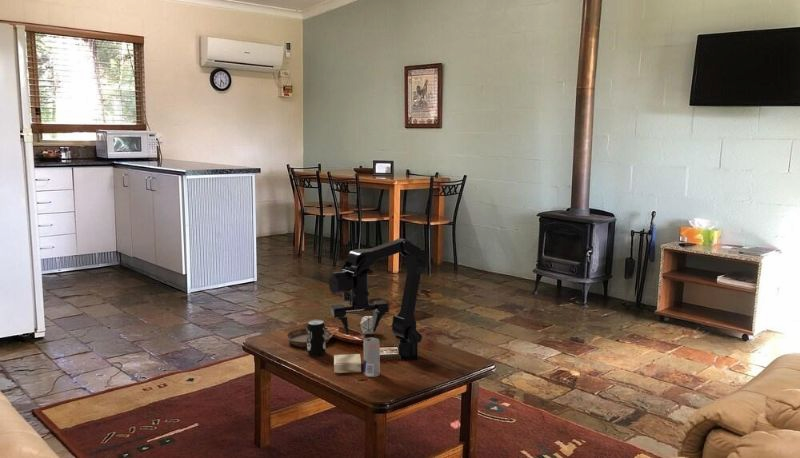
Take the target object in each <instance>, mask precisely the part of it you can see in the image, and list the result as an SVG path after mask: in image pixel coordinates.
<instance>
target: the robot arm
mask: <svg viewBox="0 0 800 458" xmlns="http://www.w3.org/2000/svg"><path fill="white" fill-rule="evenodd" d="M396 254H401V255H402V256H403V257H404V265H405V269H406V277H405V282H404V283H405V284H404V288H403V294H402V300H401V306H400V310H399V312H398V314H396V315H393V317H392V322H391V325H390V327H391V330H392V331H391V332H392V333H393V334H394V335H395V339H398V340H399V341H398V343H397V355H400V356H401V357H399V360H400V361H401V360H419V355H418V354H419V353H418V352H419V351H418V347H419V345H418V343H421V342H422V339H423V335H422V334H421V333H420V332H419V331H418V330H417V320H416V316H415V311H416V310H415V309H416V304H417V299H418V294H419V293H418V292H419V286H420V283H421V278H422V277H421V276H422V273H424V271H426V268H427V266H428V263H429V260H430V254H429V252H428V251H427V250H426V249H422V248H420V247H418V246H417V245H415V244H413V243H412V242H410V240H408V239H405V238H397V239H394V240H391V241H388V242H386V243H383V244H380V245H377V246H373V247H371V248H358V249H353V250H350V251H349V253H348V255H347V258H346V259H345V262H344V263H343V265H342V267H341V269H340V271H334V272H333V271H332V272H331V276H330V278H329V281H328V287H329V290H330V292H331V293H332V294H339V293H342V302H344V303H345V302H347V303H348V305H350V306H345V305H344V304H343V303H341V304H332V305H331V307H330V313H331V315H332V317H334V318H335V319H336V318H337V320H338V321H340V322H341V324H342V326H343V328H344V332H345V334H346V335H347V336H349V323H348V317H347V316H346V315H347V314H348V313H356V312H358V313H359V312H367V311H372V313H373V315H372V316H373V332H375V333H376V331H377V328H378V327H379V326H378V324H380V321H381V319H382V318H383V316H384V315H386V313H389V312H390V305H389V304H388V303H387V302H386V301H385V300H384V299H380V300H374V301H373V303H371V304H370V303H369V296H370V293H369V275H372V274H374V271H373V270H372V269H371V268H370V267H372V266H374V264H375V263H376V262H377V261H380V260H381V259H385V258H388V257H391V256H394V255H396ZM349 291H350V292H349Z"/></svg>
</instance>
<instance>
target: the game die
mask: <svg viewBox="0 0 800 458" xmlns="http://www.w3.org/2000/svg"><path fill="white" fill-rule="evenodd" d="M357 326H358V327H360V330H361V333H362V335H363V336H364V335H374V336H376V331H375V332H373V315H363V314H361V320H360V323H359V324H357ZM379 326H380V323H378V326H377V327H379ZM362 335H361V336H362Z"/></svg>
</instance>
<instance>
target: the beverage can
mask: <svg viewBox="0 0 800 458" xmlns="http://www.w3.org/2000/svg"><path fill="white" fill-rule="evenodd" d="M306 328H307V347H306V348H307V349H306V350H307V351H306V352H307V354H308V355H309V356H311V357H321V356H323V355H324V354H325V353H326V344H325V329H326V325H325V323H324V320H322V319H312V320H311V319H310V320H308V321H307V325H306Z"/></svg>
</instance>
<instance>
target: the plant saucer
mask: <svg viewBox="0 0 800 458" xmlns="http://www.w3.org/2000/svg"><path fill="white" fill-rule="evenodd" d="M328 332H331V333H332V334H331V335H330V334H329V333H328ZM285 337H286V339H287V340H288V341H289V342H290V343H291V344H292V345H293V346H295V347H301V348H307V327H305V328H304V327H303V328H298V329H294V330H292V331H289V332H288V333H287V334H286V336H285ZM332 337H333V332H332V331H331V330H329V329H326V328H325V345H326V344H327V343H328V342H329V341H330V340H331V339H332Z"/></svg>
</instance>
